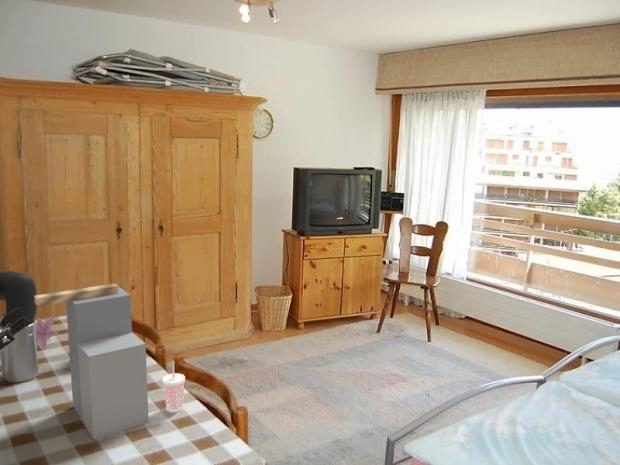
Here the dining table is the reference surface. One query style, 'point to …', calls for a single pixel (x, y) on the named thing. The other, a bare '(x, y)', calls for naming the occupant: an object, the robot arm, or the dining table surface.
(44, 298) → the maple bar
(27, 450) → the dining table surface
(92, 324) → the stepped stand
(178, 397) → the beverage cup
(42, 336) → the lily
